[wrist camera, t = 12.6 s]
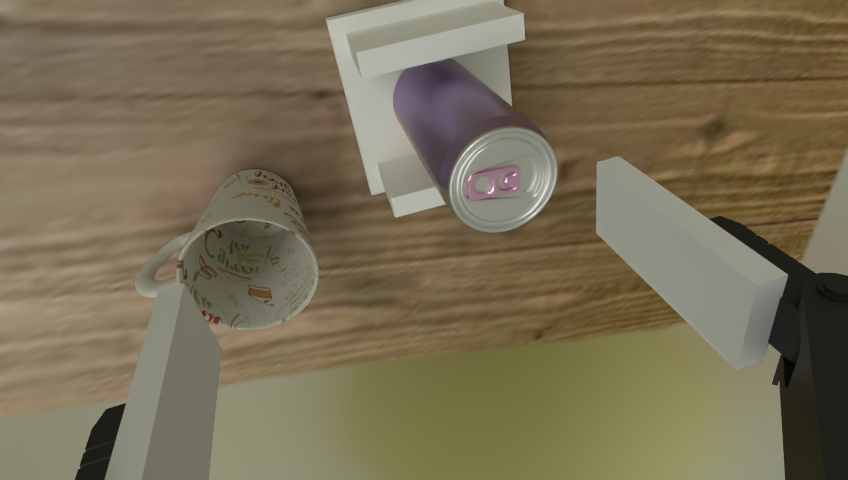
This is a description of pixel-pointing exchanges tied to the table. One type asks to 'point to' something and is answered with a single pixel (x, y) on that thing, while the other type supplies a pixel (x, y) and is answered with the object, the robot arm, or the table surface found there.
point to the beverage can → (475, 146)
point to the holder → (403, 48)
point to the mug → (243, 255)
